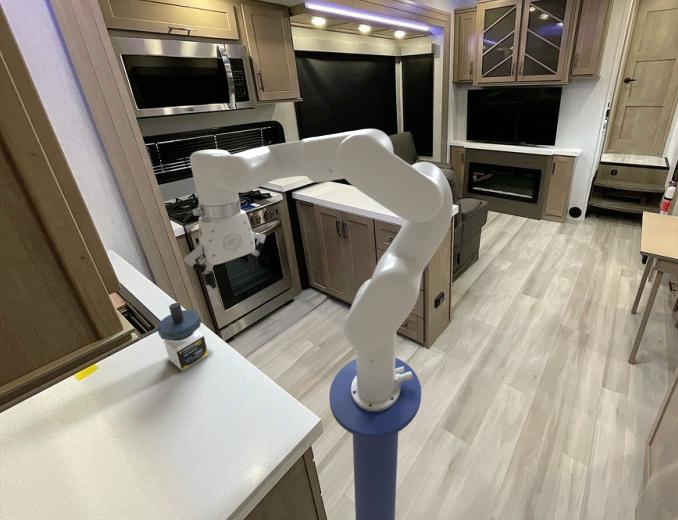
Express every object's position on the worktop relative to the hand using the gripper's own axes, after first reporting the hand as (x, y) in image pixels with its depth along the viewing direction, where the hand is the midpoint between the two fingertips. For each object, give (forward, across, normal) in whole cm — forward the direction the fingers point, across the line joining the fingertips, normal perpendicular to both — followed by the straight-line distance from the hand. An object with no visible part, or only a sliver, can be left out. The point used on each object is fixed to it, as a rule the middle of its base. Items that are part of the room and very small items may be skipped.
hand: (233, 277), depth 74 cm
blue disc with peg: (+20, -9, +19) cm, 29 cm away
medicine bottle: (+31, -9, +19) cm, 37 cm away
